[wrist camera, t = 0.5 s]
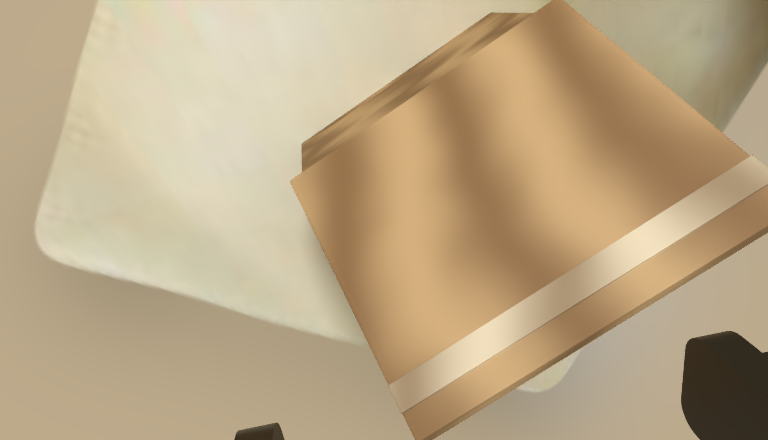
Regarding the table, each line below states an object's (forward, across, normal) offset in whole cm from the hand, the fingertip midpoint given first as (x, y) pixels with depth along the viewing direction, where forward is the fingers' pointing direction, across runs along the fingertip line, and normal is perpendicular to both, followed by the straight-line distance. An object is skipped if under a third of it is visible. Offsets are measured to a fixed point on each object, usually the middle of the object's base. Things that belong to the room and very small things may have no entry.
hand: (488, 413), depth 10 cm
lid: (+14, -5, +2) cm, 15 cm away
